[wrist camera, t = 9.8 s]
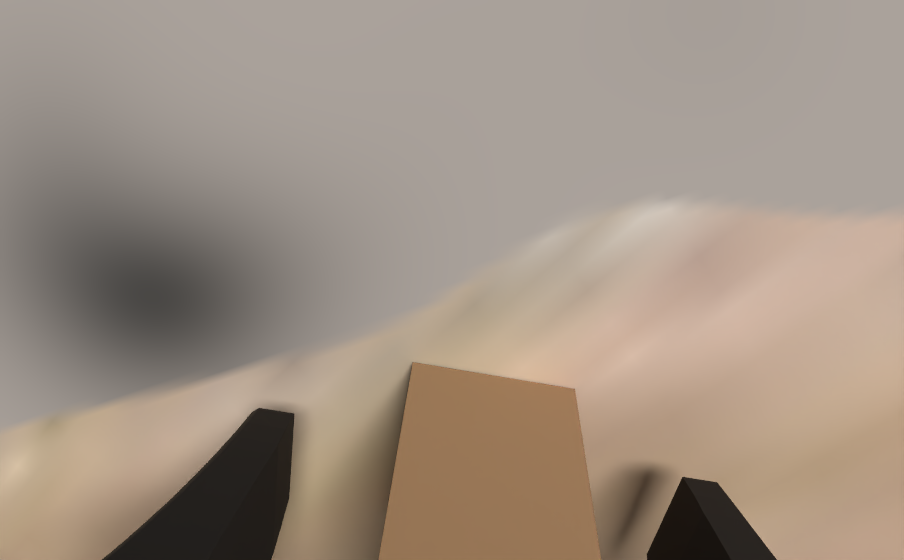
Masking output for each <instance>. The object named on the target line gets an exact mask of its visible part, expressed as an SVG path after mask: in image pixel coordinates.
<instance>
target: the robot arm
mask: <svg viewBox="0 0 904 560" xmlns="http://www.w3.org/2000/svg"><path fill="white" fill-rule="evenodd" d="M293 427H294V414H293V413H286V412H280V411H274V410H268V409H262V408H258V409H257V410H255V411H253V412H252V413H251V414H250V415H249V417H248V418H247V419H246V420H245V421H244V423H243V424H242V425H241V426H240V427H239V428H238V430H237V431H236V432H235V433H234V434H233V435H232V437H231V438H230V439H229V440H228V441H227V442H226V443H225V444H224V445H223V447H222V448H221V449H220V450H219V451H218V452H217V453H216V454H215V455H214V456H213V457H212V458H211V459H210V460H209V462H208V463H207V464H206V465H205V466H204V467H203V468H202V469H201V470H200V471H199V472H198V473H197V474H196V475H195V476H194V477H193V478H192V479H191V480H190V481H189V482H188V483H187V484H186V485H185V486H184V487H183V488H182V489H181V490H180V491H179V492H178V493H177V494H176V495H175V496H174V497H173V498H172V499H171V500H170V501H168V502H167V503H166V504H165V505H164V506H163V507H162V508H161V509H160V510H159V511H158V512H156V513H155V514H154V515H153V516H152V517H151V518H150V519H149V520H148V521H146V522H145V523H144V524H143V525H142V526H141V527H140V528H139V529H138V530H136V531H135V532H134V533H133V534H132V535H131V536H130V537H129V538H127V539H126V540H125V541H124V542H123V543H122V544H120V545H119V546H118V547H117V548H116V549H114V550H113V551H112V552H111V553H110V554H108V555H107V556H106V557H105V558H104V559H102V560H271V558H272V556H273V553H274V549H275V546H276V542H277V539H278V535H279V532H280V529H281V525H282V521H283V518H284V514H285V511H286V507H287V503H288V500H289V490H290V475H291V459H292V443H293ZM647 560H777V559H776V558H775V557H774V556H773V554H772V553H771V552H770V550H769V549H768V548H767V547H766V545H765V544H764V543H763V541H762V540H761V539H760V537H759V536H758V535H757V533H756V532H755V531H754V530H753V528H752V527H751V526H750V524H749V523H748V522H747V520H746V519H745V518H744V516H743V515H742V514H741V513H740V511H739V510H738V509H737V507H736V506H735V505H734V503H733V502H732V501H731V499H730V498H729V497H728V496H727V494H726V493H725V492H724V491H723V489H722V488H721V487H720V486H719V484H718V483H717V482H711V481H705V480H699V479H693V478H686V477H682V479H681V482H680V484H679V486H678V488H677V490H676V492H675V495H674V497H673V499H672V501H671V503H670V505H669V508H668V510H667V512H666V514H665V516H664V518H663V521H662V523H661V525H660V527H659V529H658V531H657V534H656V536H655V538H654V540H653V542H652V544H651V547H650V549H649V551H648V553H647Z"/></svg>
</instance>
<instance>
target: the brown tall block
mask: <svg viewBox="0 0 904 560" xmlns="http://www.w3.org/2000/svg"><path fill="white" fill-rule="evenodd" d="M378 560H601V555H600V549H599V542H598V536H597V529H596V523H595V516H594V510H593V504H592V497H591V491H590V484H589V478H588V471H587V465H586V458H585V452H584V445H583V439H582V433H581V426H580V420H579V413H578V407H577V400H576V394H575V389H570V388H564V387H558V386H552V385H546V384H540V383H534V382H528V381H522V380H516V379H510V378H504V377H498V376H492V375H486V374H480V373H474V372H468V371H462V370H456V369H450V368H444V367H438V366H432V365H426V364H420V363H414V362H413V364H412V370H411V376H410V381H409V387H408V393H407V399H406V404H405V410H404V416H403V422H402V427H401V433H400V439H399V445H398V450H397V456H396V462H395V468H394V473H393V479H392V485H391V491H390V496H389V502H388V508H387V514H386V519H385V525H384V531H383V536H382V542H381V548H380V554H379V559H378Z"/></svg>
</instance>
